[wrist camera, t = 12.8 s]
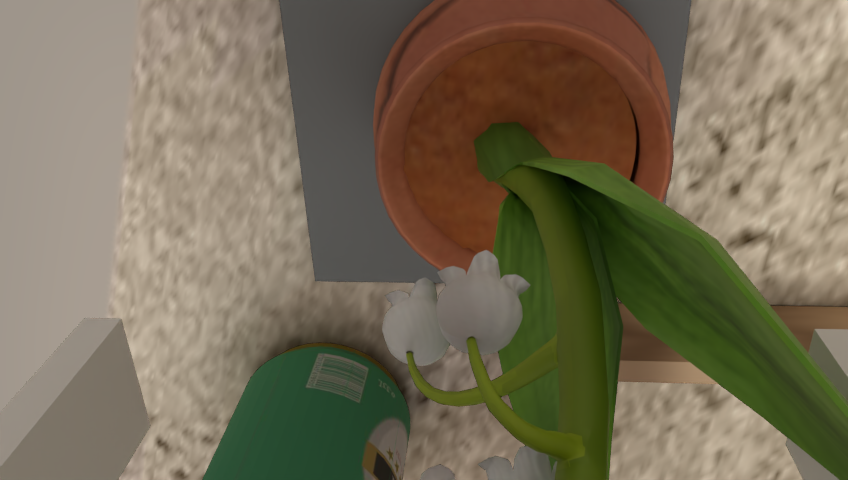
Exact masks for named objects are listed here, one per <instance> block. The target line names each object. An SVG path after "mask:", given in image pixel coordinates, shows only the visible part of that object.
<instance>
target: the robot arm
mask: <svg viewBox="0 0 848 480" xmlns="http://www.w3.org/2000/svg"><path fill="white" fill-rule="evenodd" d="M809 354H810V356H811V357H812V358H813V359H814V361H815V362H816V363H817V364H818V365H819V367H820V368H821V369H822V370H823V372H824V373H825V374H826V375H827V377H828V378H829V379H830V380H831V382H832V383H833V384H834V385H835V387H836V388H837V389H838V390H839V392H840V393H841V394H842V395H843V396H844V398H845V399H846V400H847V401H848V329H814V332H813V336H812V340H811V345H810V349H809ZM149 428H150V422H149V418H148V415H147V411H146V407H145V404H144V400H143V396H142V393H141V389H140V385H139V382H138V378H137V374H136V371H135V367H134V363H133V360H132V356H131V352H130V349H129V345H128V341H127V338H126V334H125V330H124V327H123V323H122V319H110V318H84V319H83V320H82V321H81V322H80V324H79V325H78V326H77V327H76V328H75V329H74V330H73V332H72V333H71V334H70V335H69V336H68V337H67V338H66V339H65V341H63V343H62V344H61V345H60V346H59V347H58V348H57V349H56V350H55V351H54V353H53V354H52V355H51V356H50V357H49V358H48V359H47V360H46V362H45V363H44V364H43V365H42V366H41V367H40V368H39V369H38V371H37V372H36V373H35V374H34V375H33V376H32V377H31V378H30V379H29V381H28V382H27V383H26V384H25V385H24V386H23V387H22V388H21V389H20V391H19V392H18V393H17V394H16V395H15V396H14V397H13V398H12V400H11V401H10V402H9V403H8V404H7V405H6V406H5V407H4V408H3V410H2V411H1V412H0V480H118V479H119V477H120V476H121V474H122V472H123V471H124V469H125V467H126V466H127V464H128V463H129V461H130V459H131V458H132V456H133V454H134V453H135V451H136V449H137V448H138V446H139V444H140V443H141V441H142V439H143V438H144V436H145V435H146V433H147V431H148V430H149ZM786 446H787V448H788V450H789V452H790V454H791V456H792V458H793V460H794V462H795V464H796V466H797V468H798V470H799V472H800V474H801V476H802V478H803V480H839V479H838V478H837V477H835V476H834V475H833V474H832V473H830V472H829V471H828V470H827V469H826V468H824V467H823V466H822V465H821V464H819V463H818V462H817V461H816V460H815V459H813V458H812V457H811V456H810V455H808V454H807V453H806V452H805V451H803V450H802V449H801V448H800V447H799V446H797V445H796V444H795V443H794V442H792V441H791V440H790V439H789V438H787V441H786Z"/></svg>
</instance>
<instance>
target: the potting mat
mask: <svg viewBox="0 0 848 480" xmlns="http://www.w3.org/2000/svg"><path fill="white" fill-rule="evenodd" d="M433 1H434V0H279V2H280V10H281V18H282V26H283V33H284V41H285V49H286V57H287V65H288V72H289V80H290V88H291V96H292V104H293V111H294V119H295V127H296V135H297V143H298V150H299V158H300V166H301V174H302V182H303V189H304V197H305V205H306V213H307V221H308V228H309V236H310V244H311V252H312V260H313V267H314V275H315V281H333V282H405V283H416V282H417V281H418V280H419V279H422V278H427V279H429V280H430V281H432V282H433V283H444V282H443V281H442V280H441V279H440V277H439V275H438V273H437V272H439V271H440V270H438V269H437V268H435V267H434V266H432V265H431V264H429V263H428V262H427V261H425V260H424V259H423V258H422V257H421V256H420V255H418V254H417V253H416V252H415V251H414V250H413V249H412V248H411V247H410V246H409V245H408V243H407V242H406V241H405V240H404V239H403V238H402V236H401V235H400V234H399V233H398V231H397V229H396V228H395V226H394V224H393V223H392V221H391V219H390V218H389V216H388V214H387V211H386V209H385V206H384V204H383V201H382V199H381V196H380V191H379V187H378V183H377V178H376V168H375V147H374V132H373V118H374V106H375V96H376V89H377V85H378V82H379V78H380V74H381V71H382V68H383V66H384V64H385V61H386V59H387V57H388V55H389V53H390V50H391V48H392V47H393V45H394V44H395V42H396V41H397V39H398V38H399V36H400V35H401V33H402V32H403V30H404V29H405V28H406V27H407V26H408V24H409V23H410V22H411V21H412V20H413V19H414V18H415V17H416V16H417V15H418V14H419V13H420V11H422V10H423V9H424V8H425V7H427V6H428V5H429V4H431V3H432V2H433ZM615 1H616V2H617V3H619V4H620V5H621V6H622V7H624V8H625V9H626V10H627V11H628V12H629V13H630V14H631V15H632V16H633V18H634V19H635V20H636V21H637V22H638V23H639V24H640V25H641V26H642V28H643V29H644V31H645V32H646V34H647V36H648V37H649V39H650V40H651V42H652V44H653V45H654V47H655V49H656V52H657V54H658V57H659V59H660V62H661V65H662V67H663V71H664V75H665V80H666V85H667V90H668V95H669V100H670V111H671V130H672V135H673V140H674V132H675V124H676V116H677V108H678V101H679V93H680V85H681V77H682V69H683V61H684V54H685V46H686V38H687V30H688V22H689V14H690V7H691V0H615ZM666 195H667V193H666ZM665 203H666V196H665V199H664V202H663V204H665Z"/></svg>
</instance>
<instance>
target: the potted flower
mask: <svg viewBox="0 0 848 480" xmlns="http://www.w3.org/2000/svg"><path fill="white" fill-rule="evenodd" d="M373 132H374V147H375V168H376V178H377V183H378V187H379V191H380V196H381V199H382V201H383V204H384V206H385V209H386V211H387V214H388V216H389V218H390V219H391V221H392V223H393V224H394V226H395V228H396V229H397V231H398V233H399V234H400V235H401V236H402V238H403V239H404V240H405V241H406V242H407V243H408V245H409V246H410V247H411V248H412V249H413V250H414V251H415V252H416V253H417V254H418V255H420V256H421V257H422V258H423V259H424V260H425V261H427V262H428V263H429V264H431V265H432V266H434V267H435V268H437V269H438V270H440V271H439V272H437V273H438V275H439V277H440V279H441V280H442V281H443V282H444V283H445V288H444V289H443V290H442V292H441V293H440V294H439V297H438V300H437V292H436V287H435V284H434V283H433V282H432V281H430V280H429V279H427V278H422V279H419V280H418V281H417V282H416V283H415V285H414V288H413V290H412V292H411V295H410V296H409V295H408V294H407V293H406V292H403V291H400V290H397V291H393V292H391V293H389V294H387V295H385V296H386V298H387V299H388V301H389V302H390V303H391V304H392V307H391V308H390V309H389V310H388V312H387V313H386V314H385V317H384V321H383V326H382V332H383V335H384V339H385V342H386V344H387V347H388V349H389V351H390V353H391V354H392V355H393V356H394V357H395V358H396V359H398V360H399V361H401V362H403V363H406V364H408V368H409V372H410V374H411V376H412V379H413V381H414V383H415V385H416V387H417V388H418V389H419V390H420V391H421V392H422V393H423V394H424V396H426V397H427V398H429V399H431V400H433V401H435V402H437V403H440V404H443V405H451V406H458V407H459V406H470V405H477V404H481V403H484V402H485V403H486V405H487V408H488V410H489V411H490V412H491V413H492V414H493V415H494V416H495V418H496V419H497V420H498V421H499V422H500V423H501V424H502V425H503V426H504V427H505V428H506V429H507V430H508V431H509V432H510V433H511V434H512V435H513V436H514V437H515V438H516V439H517V440H519V441H520V442H522V443H523V444H525V446H524V447H521V448H519V450H518V452H517V454H516V456H515V459H514V467H513V469H512V465H511V463H510V462H509V460H508V459H505V458H501V457H498V456H494V457H490V458H488V459H486V460H484V461H482V462H481V463H479V464H478V465H479V466H480V467H481V468H483V469H484V470H486V473H487V476H488V480H609V468H610V455H611V442H612V432H613V422H614V412H615V403H616V393H617V384H618V374H619V365H620V355H621V346H622V336H623V323H622V319H621V314H620V310H619V306H618V302H617V298H618V299H619V300H620V301H621V302H622V303H623V304H624V305H625V307H626V308H627V309H628V310H629V311H630V312H631V313H632V314H633V315H634V317H635V318H636V319H637V320H638V321H639V322H640V323H641V324H642V325H643V327H644V328H645V329H646V330H648V331H649V332H650V333H652V334H653V335H654V336H656V337H657V338H658V339H660V340H661V341H662V342H664V343H665V344H666V345H668V346H669V347H670V348H672V349H673V350H674V351H676V352H677V353H678V354H680V355H681V356H682V357H684V358H685V359H686V360H688V361H689V362H690V363H692V364H693V365H694V366H695V367H697V368H698V369H699V370H701V371H702V372H703V373H705V374H706V375H707V376H709V377H710V378H711V379H713V380H714V381H715V382H717V383H718V384H719V385H721V386H722V387H723V388H725V389H726V390H727V391H729V392H730V393H731V394H733V395H734V396H735V397H737V398H738V399H739V400H741V401H742V402H743V403H745V404H746V405H747V406H749V407H750V408H751V409H753V410H754V411H755V412H756V413H758V414H759V415H760V416H762V417H763V418H764V419H765V420H767V421H768V422H769V423H770V424H771V425H773V426H774V427H775V428H776V429H778V430H779V431H780V432H781V433H783V434H784V435H785V436H786V437H787V438H789V439H790V440H791V441H792V442H794V443H795V444H796V445H797V446H799V447H800V448H801V449H802V450H803V451H805V452H806V453H807V454H808V455H810V456H811V457H812V458H813V459H815V460H816V461H817V462H818V463H819V464H821V465H822V466H823V467H824V468H826V469H827V470H828V471H829V472H830V473H832V474H833V475H834V476H835V477H837V478H838V479H839V480H848V401H847V400H846V399H845V398H844V396H843V395H842V394H841V393H840V392H839V390H838V389H837V388H836V387H835V385H834V384H833V383H832V382H831V380H830V379H829V378H828V377H827V375H826V374H825V373H824V372H823V370H822V369H821V368H820V367H819V365H818V364H817V363H816V362H815V361H814V359H813V358H812V357H811V356H810V354H809V353H808V352H807V351H806V349H805V348H804V347H803V346H802V344H801V343H800V342H799V341H798V339H797V338H796V337H795V336H794V334H793V333H792V332H791V331H790V330H789V328H788V327H787V326H786V325H785V323H784V322H783V321H782V320H781V318H780V317H779V316H778V315H777V313H776V312H775V311H774V310H773V308H772V307H771V306H770V305H769V303H768V302H767V301H766V300H765V299H764V297H763V296H762V295H761V294H760V292H759V291H758V290H757V289H756V287H755V286H754V285H753V284H752V282H751V281H750V280H749V279H748V277H747V276H746V275H745V274H744V272H743V271H742V270H741V269H740V268H739V266H738V265H737V264H736V263H735V261H734V260H733V259H732V258H731V256H730V255H729V254H728V253H727V251H726V250H725V249H724V248H723V246H722V245H721V244H720V243H719V241H718V240H717V239H715V238H714V237H712V236H711V235H709V234H708V233H706V232H705V231H703V230H702V229H700V228H699V227H697V226H696V225H694V224H693V223H691V222H690V221H689V220H687V219H686V218H684V217H683V216H681V215H680V214H678V213H677V212H675V211H674V210H672V209H671V208H669V207H668V206H666V205H665V204H663V202H664V199H665V196H666V193H667V189H668V186H669V183H670V180H671V173H672V165H673V135H672V130H671V111H670V100H669V95H668V90H667V85H666V80H665V75H664V71H663V67H662V65H661V62H660V59H659V57H658V54H657V52H656V49H655V47H654V45H653V44H652V42H651V40H650V39H649V37H648V36H647V34H646V32H645V31H644V29H643V28H642V26H641V25H640V24H639V23H638V22H637V21H636V20H635V19H634V18H633V16H632V15H631V14H630V13H629V12H628V11H627V10H626V9H625V8H624V7H622V6H621V5H620V4H619V3H617V2H616V1H615V0H434V1H433V2H432V3H431V4H429V5H428V6H427V7H425V8H424V9H423V10H422V11H420V13H419V14H418V15H417V16H416V17H415V18H414V19H413V20H412V21H411V22H410V23H409V24H408V26H407V27H406V28H405V29H404V30H403V32H402V33H401V35H400V36H399V38H398V39H397V41H396V42H395V44H394V45H393V47H392V48H391V50H390V53H389V55H388V57H387V59H386V61H385V64H384V66H383V68H382V71H381V74H380V78H379V82H378V85H377V89H376V96H375V106H374V118H373ZM408 296H409V297H408ZM616 297H617V298H616ZM450 344H451V345H452V346H453V347H454V348H456V349H458V350H459V351H461V352H465V353H468V354H469V359H470V363H471V367H472V370H473V373H474V376H475V379H476V382H477V385H478V387H476V388H473V389H468V390H464V391H459V392H456V391H442V390H439V389H436V388H433V387H432V386H431V385H430V384H429V383H427V382H426V381H425V380H424V379H423V377H422V375H421V374H420V372H419V370H418V369H417V367H416V365H419V366H425V365H429V364H432V363H434V362H435V361H437V360H439V359H440V358H442V357H443V356H444V354H445V353H446V351H447V349H448V347H449V345H450ZM497 351H498V353H499V358H500V363H501V367H502V372H503V375H502V376H500V377H498V378H496V379H494V380H492V381H490V378H489V376H488V373H487V371H486V369H485V366H484V364H483V361H482V359H481V356H480V355H488V354H492V353H495V352H497ZM507 394H508V396H509V399H510V402H511V405H512V408H513V410H512V409H511V408H510V407H509V406H508V405H507V404H506V403H505V402H503V400H502V399H501V397H502V396H505V395H507ZM420 480H455V476H454V473H453V472H452V471H451V470H450V469H449V468H447V467H445V466H443V465H441V464H439V465H437V466H434V467H431V468H428V469H427V470H426V471H424V472H423V473H422V475H421V478H420Z"/></svg>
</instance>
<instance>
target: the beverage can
mask: <svg viewBox="0 0 848 480" xmlns="http://www.w3.org/2000/svg"><path fill="white" fill-rule="evenodd" d="M409 433H410V414H409V409H408V406H407V404H406V401H405V399H404V397H403V395H402V393H401V392H400V390H399V387H398V385H397V383H396V382H395V380H394V378H393V377H392V375H391V374H390V373H389V372H388V371H387V370H386V369H385V368H384V367H383V366H382V365H381V364H380V363H378V362H377V361H376V360H374V359H373V358H371V357H370V356H368V355H367V354H365V353H362V352H360V351H358V350H356V349H353V348H350V347H347V346H343V345H338V344H333V343H311V344H305V345H300V346H297V347H294V348H291V349H289V350H287V351H285V352H283V353H282V354H280V355H279V356H276V357H274V358H273V359H271V360H269V361H267V362H266V363H265V364H263V365H262V366H261V367H260V368H259V369H258V370H257V371H256V372H255V373H254V374H253V376H252V377H251V378H250V380H249V382H248V384H247V386H246V388H245V390H244V393H243V395H242V397H241V399H240V401H239V403H238V405H237V407H236V409H235V412H234V414H233V416H232V418H231V420H230V422H229V424H228V426H227V429H226V431H225V433H224V435H223V437H222V439H221V441H220V443H219V446H218V448H217V450H216V452H215V454H214V456H213V458H212V460H211V462H210V465H209V467H208V469H207V471H206V473H205V475H204V477H203V479H202V480H402V478H403V472H404V465H405V459H406V453H407V446H408V440H409Z"/></svg>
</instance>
